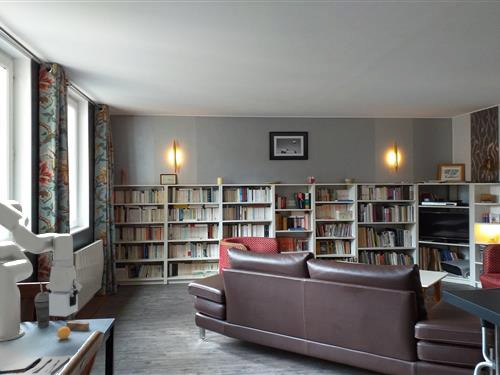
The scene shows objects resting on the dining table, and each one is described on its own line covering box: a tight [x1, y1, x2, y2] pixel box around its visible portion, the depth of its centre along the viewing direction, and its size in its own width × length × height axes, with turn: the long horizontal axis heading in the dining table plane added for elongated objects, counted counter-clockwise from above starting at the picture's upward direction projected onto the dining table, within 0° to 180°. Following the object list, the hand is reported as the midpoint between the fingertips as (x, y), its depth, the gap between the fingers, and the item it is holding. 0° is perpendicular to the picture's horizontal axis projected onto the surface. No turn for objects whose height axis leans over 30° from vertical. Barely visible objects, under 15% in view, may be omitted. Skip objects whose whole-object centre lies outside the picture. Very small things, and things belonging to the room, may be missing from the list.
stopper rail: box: [65, 320, 90, 331], centre depth 171 cm, size 10×2×3 cm, turn 78°
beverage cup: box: [34, 281, 51, 328], centre depth 176 cm, size 7×7×20 cm
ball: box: [56, 326, 71, 340], centre depth 160 cm, size 5×5×5 cm
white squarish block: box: [49, 291, 79, 318], centre depth 161 cm, size 8×8×9 cm
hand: (64, 304), depth 161 cm, fingers closed on white squarish block, 7 cm apart
